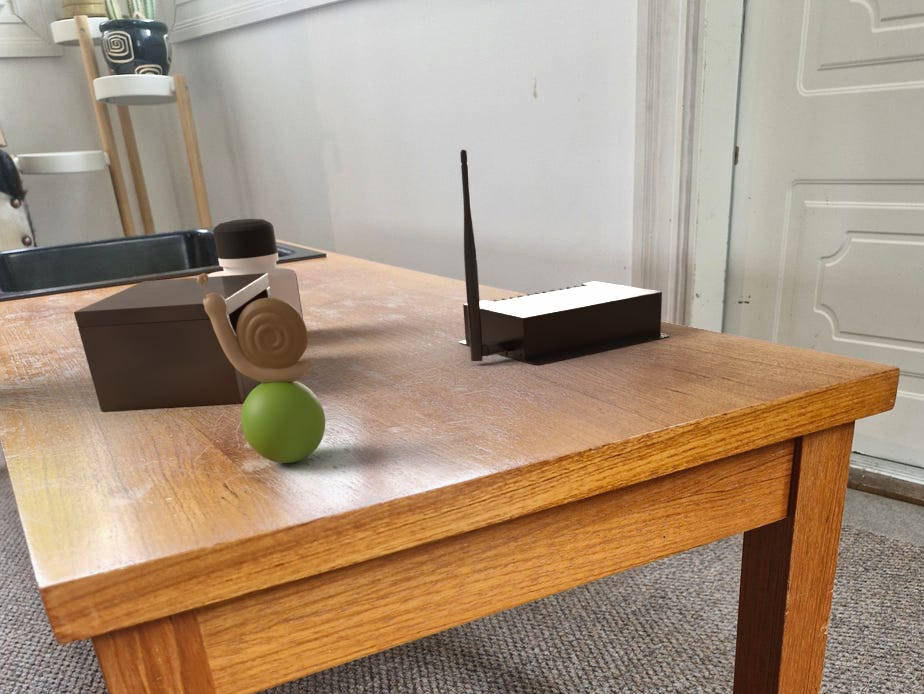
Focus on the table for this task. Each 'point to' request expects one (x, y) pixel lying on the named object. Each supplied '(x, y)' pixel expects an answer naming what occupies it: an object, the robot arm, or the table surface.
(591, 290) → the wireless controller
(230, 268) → the medicine bottle
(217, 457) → the table surface
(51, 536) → the table surface
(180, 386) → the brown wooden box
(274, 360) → the snail figurine
